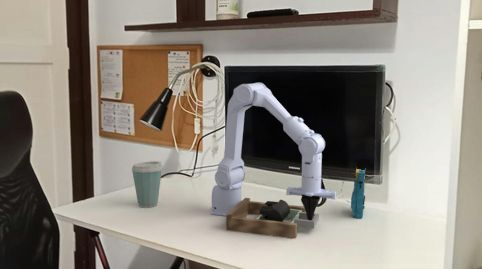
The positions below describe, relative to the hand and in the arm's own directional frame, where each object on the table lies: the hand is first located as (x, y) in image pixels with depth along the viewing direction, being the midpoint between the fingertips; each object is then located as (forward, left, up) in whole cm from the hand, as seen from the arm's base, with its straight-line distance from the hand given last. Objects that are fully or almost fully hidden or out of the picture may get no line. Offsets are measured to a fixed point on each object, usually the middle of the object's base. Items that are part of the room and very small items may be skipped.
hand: (310, 219), depth 152 cm
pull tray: (-7, 0, -3) cm, 7 cm away
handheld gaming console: (+12, +19, -3) cm, 23 cm away
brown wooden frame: (-14, 0, -3) cm, 14 cm away
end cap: (-11, +1, -3) cm, 12 cm away
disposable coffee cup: (-58, +6, -3) cm, 58 cm away
